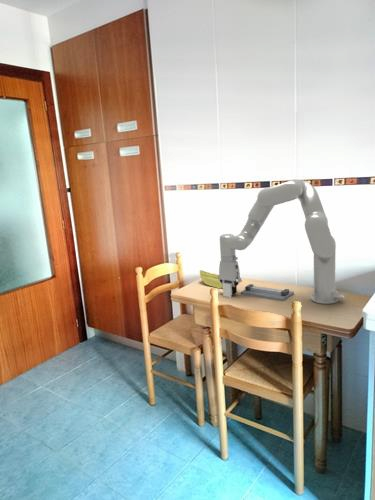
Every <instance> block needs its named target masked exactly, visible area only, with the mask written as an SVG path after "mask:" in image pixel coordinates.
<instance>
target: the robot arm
mask: <svg viewBox="0 0 375 500" xmlns="http://www.w3.org/2000/svg"><path fill="white" fill-rule="evenodd" d="M297 199H298V200H299V202H300V206H301V209H302V212H303V214H304V217H305V218H304V219H305V222H304V228H305V229H304V230H305V232H306V235H307V239H308V243H309V244H310V249H311V250H312V253H313V294H311V296H310V300H311V302H314V303H315V304H322V305H331V304H336V303H338V302H339V300H345V295H344V294H343V293H339V292H338V289H336V248H337V247H336V246H337V245H336V240H335V238H334V236H333V235H332V232H331V230H330V228H329V223H328V222H329V220H328V218H327V214H326V213H325V210H324V207H323V204H322V202H321V199H320V196H319V193H318V192H317V189H316V188H315V187H314V185H313V184H311V183H310V182H308V181H306V180H302V179H294V178H293V179H291V180H288V181H286V182H282V183H279V184H276V185H274V186H269V187H265V188H262V189H261V190H260V191H259V192H258V194H257V199H256V201H255V203H253V206H252V207H251V209H250V211H249V212H248V216H247V220H246V223H245V225H244V226H243V228H242V230H241V231H240V233H239V234H237V235H234V234H231V233H225V234H224V233H223V234H221V235H220V236H219V249H220V250H219V251H220V260H219V269H218V270H219V271H218V273H219V274H218V275H219V276H218V277H217V279H218V280H219V281H220V282H221V283H222V285H223V283H224V282H226V281H232V285H233V287H232V295H236V294H235V293H236V292H237V293H238V290H237V289H238V287H237V286H238V285H239V284H240V283H242V282H243V280H242V277H241V275H240V274H241V273H240V272H241V271H240V266H239V262H238V261H237V260H238V256H236V250H237V251H243V250H246V249H247V248H248V247H249V246H250V245H251V244H252V242H254V239H256V237H257V235H258V233H259V232H260V230H261V228H262V227H263V225H264V224H265V222H266V220H267V218H268V217H269V215H270V213H271V212H272V210H273V208H274V207H275V206H277V205H281V204H284V203H288V202H291V201H295V200H297Z"/></svg>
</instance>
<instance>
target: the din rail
mask: <svg viewBox="0 0 375 500" xmlns="http://www.w3.org/2000/svg"><path fill="white" fill-rule="evenodd" d="M264 287H265V286H264ZM264 287H263V286H258V285H257V286H256V285H254V284H253V283H249V284H247V285H246V286H245V287H244V290H246V291H249V290H250V291H256V292H263V293H270V294H276V295H281V296H286V295H288V294H289V291H290V289H287V288H284V289H279V290H278V289H277V288H272V287H271V288H272V289H271V288H270V287H265V288H264Z"/></svg>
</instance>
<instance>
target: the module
mask: <svg viewBox="0 0 375 500" xmlns="http://www.w3.org/2000/svg"><path fill="white" fill-rule="evenodd" d="M232 287H233V285H232V281H226V282H224V283H223V288H222V295H223V297H226V298H232V295H233V294H232ZM234 295H238V291H237V292H236V293H235V294H234Z"/></svg>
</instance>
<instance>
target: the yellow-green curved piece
mask: <svg viewBox="0 0 375 500" xmlns="http://www.w3.org/2000/svg"><path fill="white" fill-rule="evenodd" d="M199 276H200V278H201V280H202V282H203V283H204V284H206V285H207V286H210V287H213V288H218V289H223V285H222V283H221V282H220V281H219V280H218V279H217V277H218V276H219V274H215V273H211V272H207V271H204V270H202V269H201V270H200V269H199Z"/></svg>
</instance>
